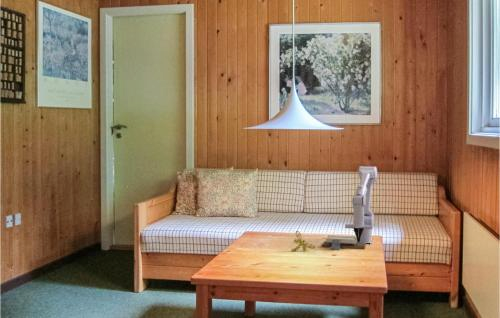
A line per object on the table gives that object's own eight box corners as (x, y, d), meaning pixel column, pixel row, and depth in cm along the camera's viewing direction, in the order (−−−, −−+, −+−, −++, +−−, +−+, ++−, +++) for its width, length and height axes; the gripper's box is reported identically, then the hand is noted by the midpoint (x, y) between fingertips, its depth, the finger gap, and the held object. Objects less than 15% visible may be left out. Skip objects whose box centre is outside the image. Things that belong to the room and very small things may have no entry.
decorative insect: (302, 260, 289) (315, 246, 287) (302, 261, 285) (315, 247, 284) (284, 243, 290) (297, 229, 288) (284, 244, 286) (296, 230, 285)
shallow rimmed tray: (328, 241, 308) (328, 235, 308) (356, 242, 305) (356, 236, 304) (325, 244, 299) (326, 238, 299) (355, 245, 295) (355, 239, 295)
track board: (324, 243, 310) (324, 240, 310) (365, 245, 304) (365, 243, 304) (321, 247, 298) (321, 244, 298) (364, 249, 293) (364, 247, 293)
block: (332, 248, 295) (332, 239, 295) (339, 248, 294) (340, 239, 294) (331, 249, 291) (331, 240, 291) (339, 250, 290) (339, 240, 290)
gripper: (344, 217, 297) (344, 242, 297) (372, 218, 293) (371, 243, 294) (345, 215, 304) (345, 240, 304) (372, 216, 300) (372, 241, 300)
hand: (358, 241), depth 299 cm, fingers closed
